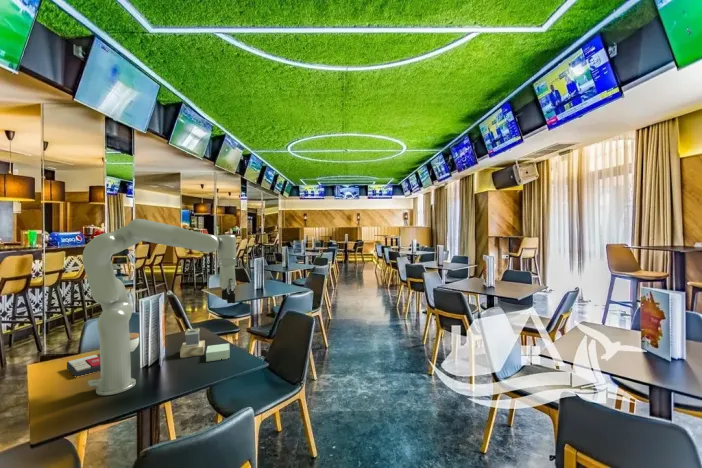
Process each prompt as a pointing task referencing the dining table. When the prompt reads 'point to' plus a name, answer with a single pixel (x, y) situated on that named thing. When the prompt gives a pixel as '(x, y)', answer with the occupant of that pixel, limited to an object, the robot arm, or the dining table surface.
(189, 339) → the block
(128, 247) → the robot arm
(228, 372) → the dining table surface
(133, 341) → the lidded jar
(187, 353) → the stand
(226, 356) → the stand
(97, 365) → the red and grey box
